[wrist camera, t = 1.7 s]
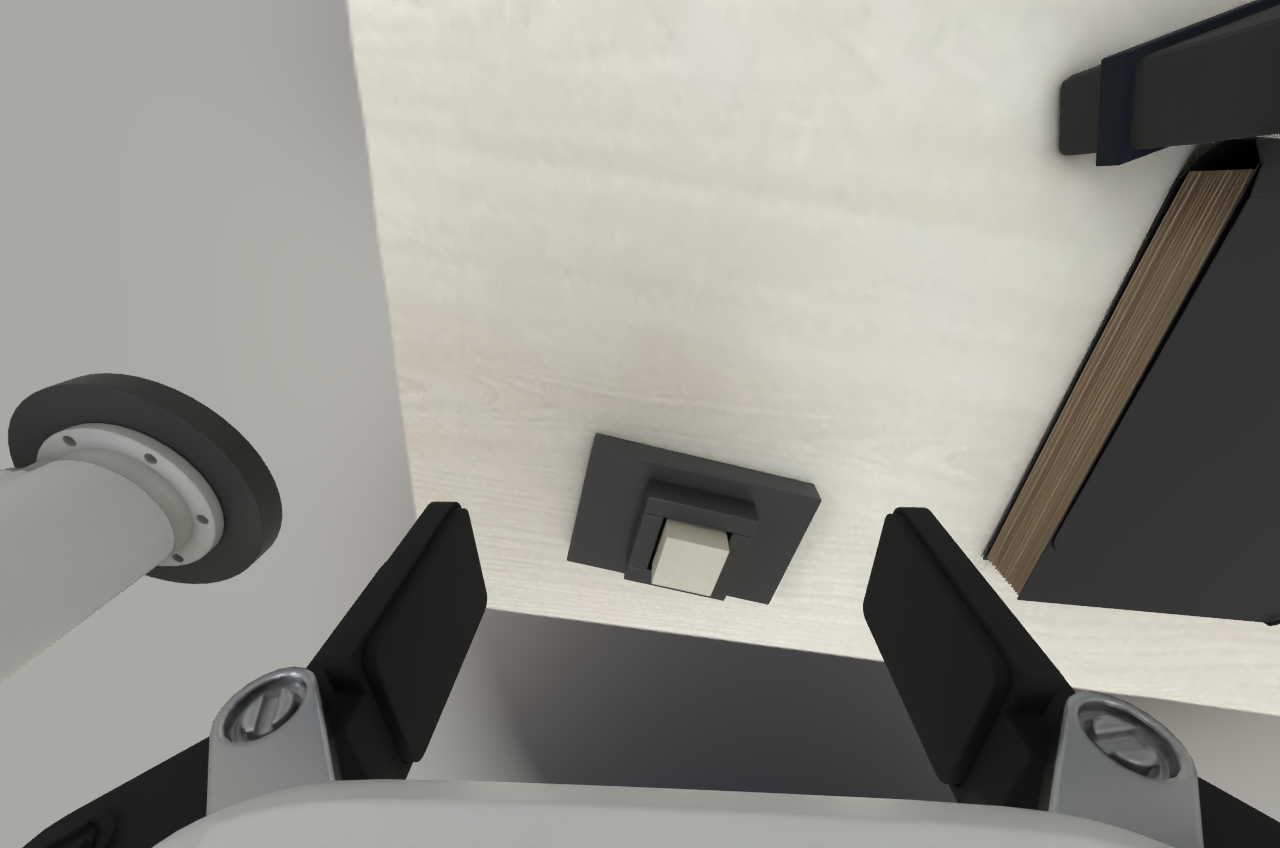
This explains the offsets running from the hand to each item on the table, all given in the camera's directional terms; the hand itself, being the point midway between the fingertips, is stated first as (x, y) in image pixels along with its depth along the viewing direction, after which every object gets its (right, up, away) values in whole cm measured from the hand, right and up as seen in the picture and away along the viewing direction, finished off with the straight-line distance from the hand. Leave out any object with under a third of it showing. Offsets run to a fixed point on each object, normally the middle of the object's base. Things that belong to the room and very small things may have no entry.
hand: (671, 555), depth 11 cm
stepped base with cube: (+2, -3, +21) cm, 21 cm away
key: (+2, -4, +18) cm, 19 cm away
